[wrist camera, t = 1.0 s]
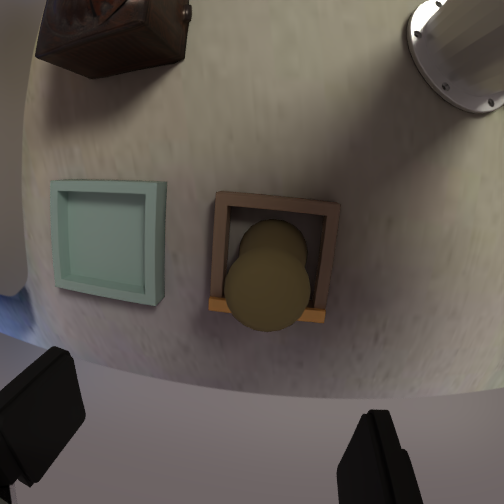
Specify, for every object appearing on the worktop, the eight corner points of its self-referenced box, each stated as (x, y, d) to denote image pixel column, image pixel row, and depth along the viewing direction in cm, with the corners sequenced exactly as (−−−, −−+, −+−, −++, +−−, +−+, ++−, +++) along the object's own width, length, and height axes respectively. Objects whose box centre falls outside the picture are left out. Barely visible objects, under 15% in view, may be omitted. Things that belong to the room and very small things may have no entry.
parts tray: (167, 181, 28) (157, 182, 26) (164, 296, 31) (155, 306, 28) (64, 179, 29) (50, 180, 26) (67, 279, 32) (55, 286, 29)
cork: (295, 293, 29) (299, 358, 18) (231, 274, 29) (202, 330, 19) (316, 230, 28) (335, 265, 17) (249, 210, 28) (226, 233, 17)
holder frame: (336, 202, 27) (341, 205, 24) (321, 311, 29) (323, 323, 27) (221, 190, 28) (214, 192, 25) (214, 299, 30) (208, 310, 28)
